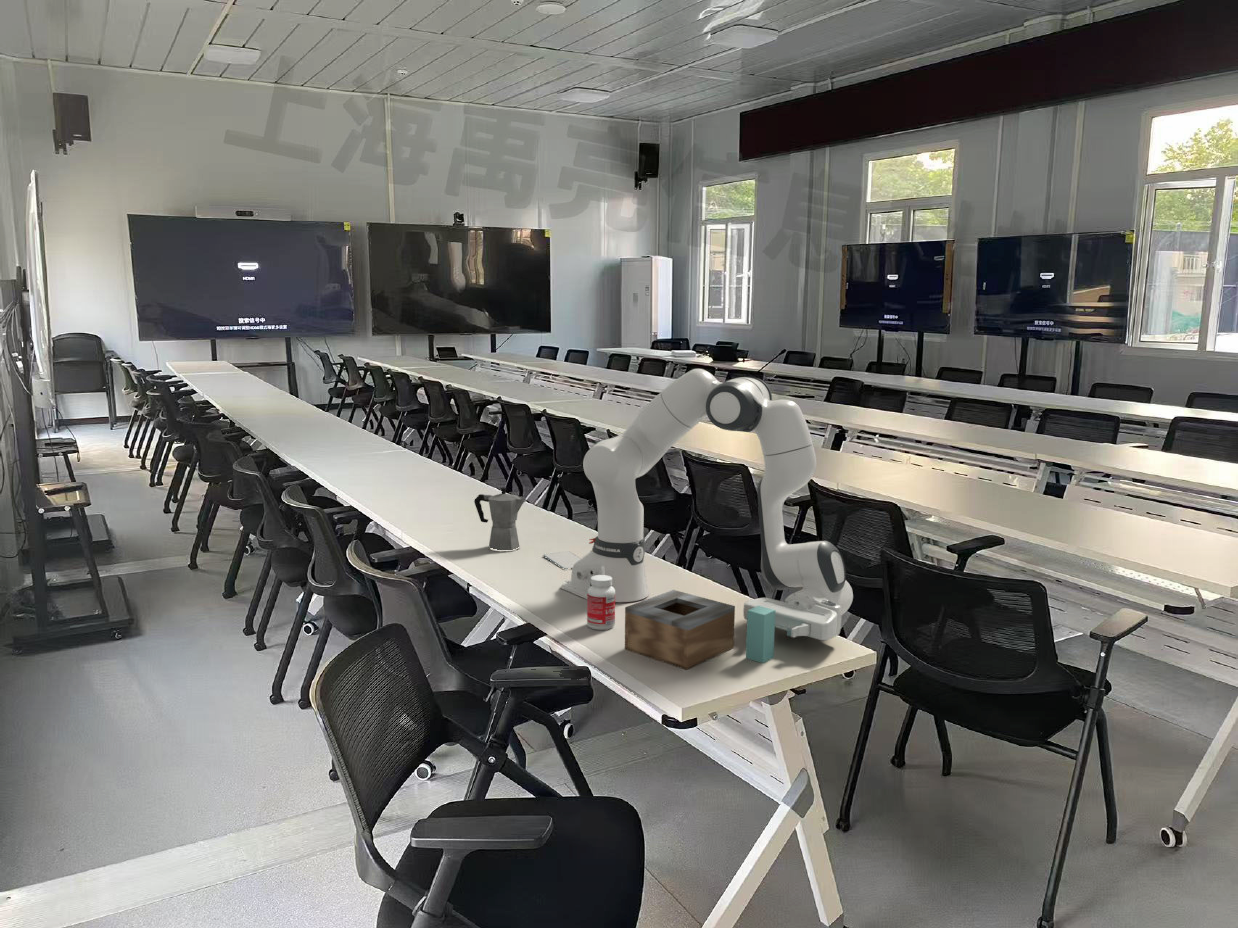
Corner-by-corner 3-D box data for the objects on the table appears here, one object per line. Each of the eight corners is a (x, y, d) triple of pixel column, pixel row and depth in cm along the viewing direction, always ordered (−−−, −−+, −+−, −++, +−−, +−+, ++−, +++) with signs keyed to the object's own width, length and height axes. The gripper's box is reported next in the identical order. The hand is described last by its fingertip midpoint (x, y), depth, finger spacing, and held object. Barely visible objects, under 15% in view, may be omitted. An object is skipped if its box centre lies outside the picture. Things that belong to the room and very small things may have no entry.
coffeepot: (530, 545, 270) (530, 485, 267) (521, 553, 261) (521, 491, 258) (480, 542, 273) (479, 483, 270) (469, 550, 264) (468, 489, 261)
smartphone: (564, 568, 245) (542, 554, 258) (564, 572, 245) (542, 557, 258) (592, 565, 249) (569, 550, 262) (592, 568, 249) (569, 554, 262)
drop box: (624, 649, 189) (625, 607, 187) (672, 629, 201) (673, 589, 199) (686, 669, 179) (687, 625, 177) (733, 647, 190) (734, 605, 189)
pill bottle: (608, 632, 199) (609, 583, 197) (582, 628, 201) (582, 579, 199) (619, 623, 204) (619, 575, 202) (593, 619, 206) (594, 572, 205)
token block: (745, 657, 185) (747, 610, 183) (756, 652, 188) (758, 605, 186) (762, 663, 182) (764, 614, 181) (773, 657, 185) (775, 610, 184)
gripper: (763, 586, 203) (728, 601, 193) (848, 607, 190) (814, 624, 180) (762, 614, 204) (727, 630, 194) (846, 636, 191) (813, 654, 181)
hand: (769, 627), depth 187 cm, fingers open, 8 cm apart
